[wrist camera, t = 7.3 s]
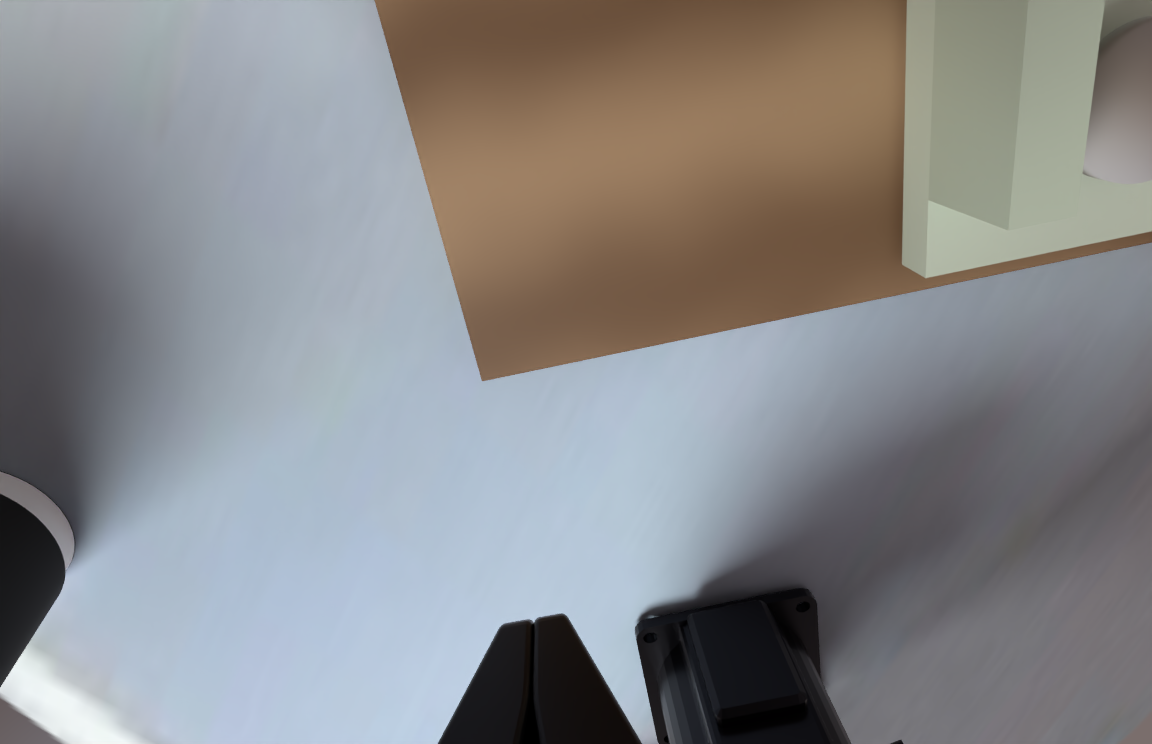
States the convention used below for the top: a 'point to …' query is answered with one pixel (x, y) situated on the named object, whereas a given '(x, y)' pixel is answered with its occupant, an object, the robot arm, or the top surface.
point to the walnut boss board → (685, 162)
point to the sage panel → (1007, 132)
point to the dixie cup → (28, 564)
